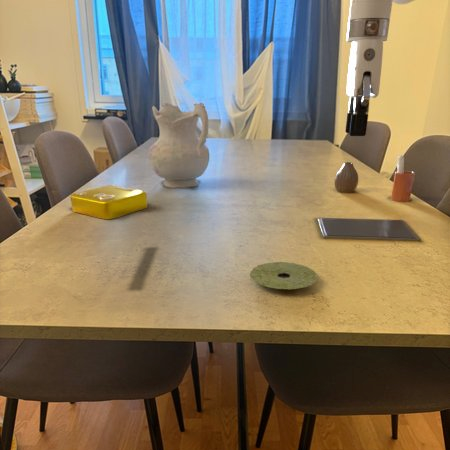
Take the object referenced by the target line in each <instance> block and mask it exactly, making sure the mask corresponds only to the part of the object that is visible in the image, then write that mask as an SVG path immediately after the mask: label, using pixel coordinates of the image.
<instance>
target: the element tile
mask: <svg viewBox="0 0 450 450" xmlns="http://www.w3.org/2000/svg"><path fill="white" fill-rule="evenodd" d="M69 196H70V197H69V198H70V204H71V208H72V209H71V210H72V212H73V213H76V214H81V215H85V216H90V217H93V218H98V219H102V220H114V219H117V218H120V217H123V216H127V215H130V214H132V213H133V214H134V213H136V212H139V211H142V210H145V209H147V208H148V199H147V198H148V197H147V192H146V190H141V189H137V188H129V187H126V186H118V185H112V184H108V185H103V186H100V187H96V188H92V189H88V190H84V191H80V192H75V193H72V194H70V195H69Z"/></svg>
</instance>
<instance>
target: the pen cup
mask: <svg viewBox="0 0 450 450" xmlns="http://www.w3.org/2000/svg"><path fill="white" fill-rule="evenodd" d="M415 175H416V173H415V172H414V171H412V170H411V171H410V170H404V174H402V173H398V170H395V172H394V177H393V183H392V189H391V193H390V194H391V195H390V200H391V201H395V202H402V203H403V202H409V201H410V200H411V196H412V191H413V185H414V182H415V181H414V180H415Z"/></svg>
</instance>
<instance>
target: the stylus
mask: <svg viewBox="0 0 450 450" xmlns="http://www.w3.org/2000/svg"><path fill="white" fill-rule="evenodd" d="M397 171H398V173H402V174H404V171H405V156H404V155H402V154H400V155H398V156H397Z"/></svg>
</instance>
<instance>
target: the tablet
mask: <svg viewBox="0 0 450 450" xmlns="http://www.w3.org/2000/svg"><path fill="white" fill-rule="evenodd" d="M317 222H318V225H319V229H320V231H321V235H322V238H323V239H335V240H336V239H338V240H339V239H340V240H365V241H366V240H367V241H369V240H370V241H399V242H400V241H401V242H420V241H421V238H419V237H418V236H417V234H416V233H415V232H414V231H413V230H412V229H411V227H409V225H408V224H407V223H406V222H405V221H404V220H403V219H381V218H379V219H378V218H376V219H375V218H343V217H341V218H339V217H317Z"/></svg>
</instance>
